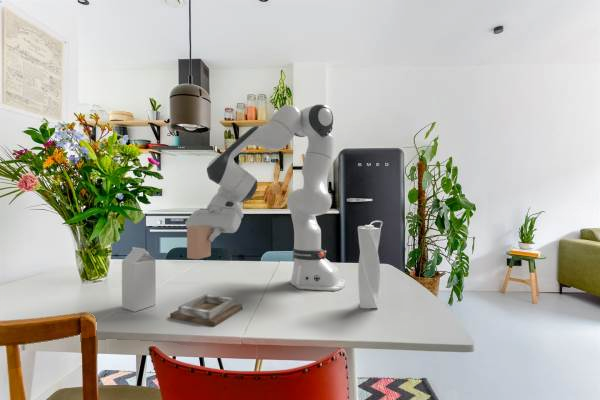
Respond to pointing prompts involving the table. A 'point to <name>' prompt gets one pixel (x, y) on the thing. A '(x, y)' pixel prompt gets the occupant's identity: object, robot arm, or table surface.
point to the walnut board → (207, 310)
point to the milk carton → (138, 280)
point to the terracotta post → (198, 242)
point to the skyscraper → (369, 265)
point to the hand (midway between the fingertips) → (202, 240)
